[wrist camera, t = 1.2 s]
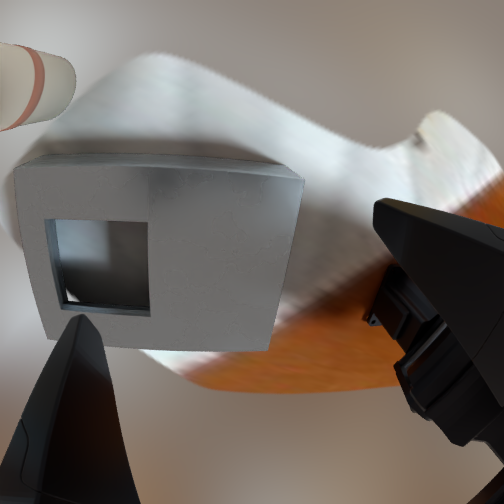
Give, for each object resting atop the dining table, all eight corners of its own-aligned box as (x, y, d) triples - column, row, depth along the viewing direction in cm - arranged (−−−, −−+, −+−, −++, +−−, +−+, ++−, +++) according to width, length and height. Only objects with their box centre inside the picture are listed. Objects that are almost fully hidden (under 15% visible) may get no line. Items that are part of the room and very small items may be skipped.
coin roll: (81, 51, 13) (-11, 20, 4) (73, 119, 15) (-25, 143, 6) (24, 61, 12) (-78, 53, 3) (18, 124, 14) (-85, 156, 5)
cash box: (284, 164, 19) (305, 179, 15) (257, 315, 24) (267, 350, 21) (43, 155, 15) (13, 168, 12) (63, 306, 21) (47, 339, 17)
